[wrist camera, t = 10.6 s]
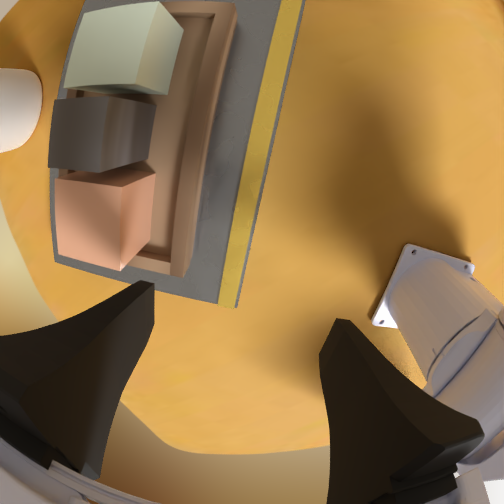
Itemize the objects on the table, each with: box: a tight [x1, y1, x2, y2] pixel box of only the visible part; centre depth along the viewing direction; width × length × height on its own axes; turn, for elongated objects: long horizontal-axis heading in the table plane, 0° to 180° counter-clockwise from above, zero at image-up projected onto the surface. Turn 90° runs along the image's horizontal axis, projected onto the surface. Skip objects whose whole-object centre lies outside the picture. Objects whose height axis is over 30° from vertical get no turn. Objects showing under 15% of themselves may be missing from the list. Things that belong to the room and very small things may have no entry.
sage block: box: [63, 1, 184, 95], centre depth 9 cm, size 4×4×4 cm
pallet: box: [48, 1, 238, 278], centre depth 12 cm, size 9×16×7 cm, turn 169°
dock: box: [50, 0, 306, 309], centre depth 16 cm, size 16×22×3 cm
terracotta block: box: [55, 168, 156, 271], centre depth 13 cm, size 4×4×4 cm
